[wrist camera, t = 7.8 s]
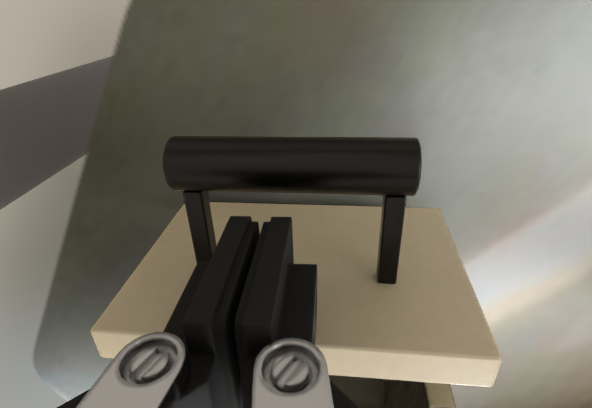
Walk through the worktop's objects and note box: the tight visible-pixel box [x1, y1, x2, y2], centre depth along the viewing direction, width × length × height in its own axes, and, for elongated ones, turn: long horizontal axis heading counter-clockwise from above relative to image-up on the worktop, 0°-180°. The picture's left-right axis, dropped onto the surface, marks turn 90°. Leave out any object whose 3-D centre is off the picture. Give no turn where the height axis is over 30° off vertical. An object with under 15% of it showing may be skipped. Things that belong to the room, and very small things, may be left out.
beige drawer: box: [91, 136, 502, 408], centre depth 16 cm, size 18×11×8 cm, turn 2°
